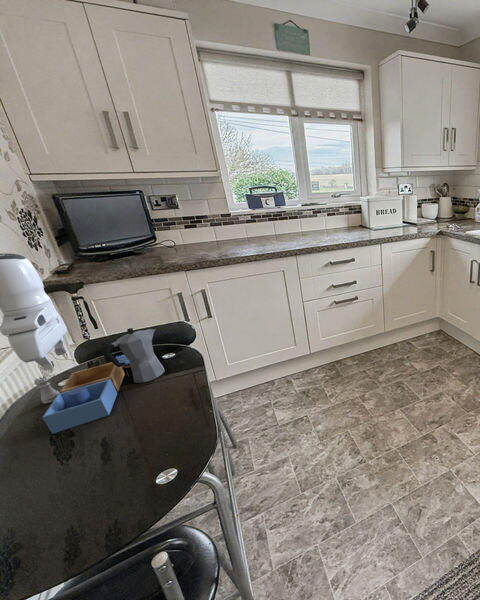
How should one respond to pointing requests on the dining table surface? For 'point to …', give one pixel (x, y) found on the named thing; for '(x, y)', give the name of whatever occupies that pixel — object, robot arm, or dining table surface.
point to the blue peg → (79, 396)
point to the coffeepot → (137, 355)
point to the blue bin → (80, 407)
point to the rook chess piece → (46, 390)
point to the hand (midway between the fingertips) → (56, 361)
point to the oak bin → (95, 377)
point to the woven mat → (123, 359)
